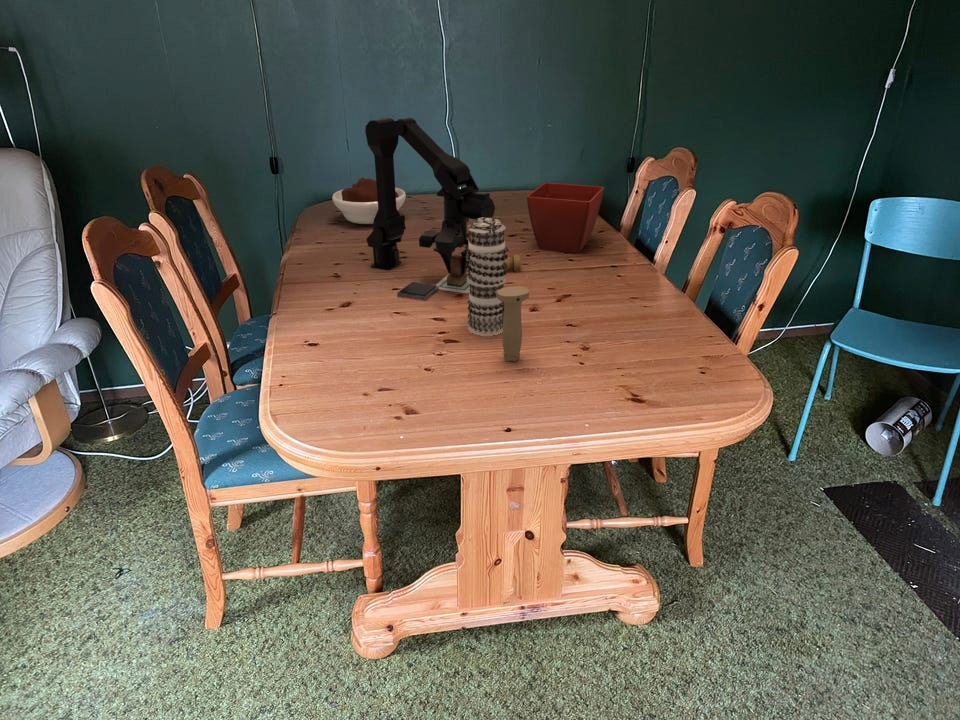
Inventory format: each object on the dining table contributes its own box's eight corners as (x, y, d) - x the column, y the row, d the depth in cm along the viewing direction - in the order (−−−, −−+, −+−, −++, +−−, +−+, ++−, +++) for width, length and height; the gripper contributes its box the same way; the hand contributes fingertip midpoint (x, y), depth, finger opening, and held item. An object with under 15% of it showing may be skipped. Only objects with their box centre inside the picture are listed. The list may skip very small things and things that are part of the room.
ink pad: (397, 296, 163) (397, 291, 162) (411, 285, 170) (411, 281, 169) (426, 300, 160) (425, 295, 160) (439, 289, 167) (438, 284, 166)
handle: (492, 356, 134) (493, 289, 127) (520, 351, 136) (522, 284, 129) (502, 366, 130) (503, 298, 123) (530, 361, 132) (533, 293, 125)
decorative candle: (493, 340, 140) (494, 229, 129) (458, 331, 145) (456, 222, 133) (514, 325, 147) (516, 218, 135) (480, 317, 151) (479, 212, 140)
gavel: (482, 240, 195) (515, 239, 195) (482, 254, 197) (514, 254, 197) (484, 258, 176) (521, 257, 176) (484, 274, 178) (520, 273, 178)
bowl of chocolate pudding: (319, 223, 222) (314, 179, 215) (370, 208, 240) (366, 167, 233) (372, 235, 209) (368, 189, 202) (421, 218, 227) (419, 175, 220)
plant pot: (523, 251, 194) (525, 195, 187) (542, 233, 210) (544, 181, 202) (585, 258, 188) (590, 201, 180) (600, 240, 204) (604, 186, 196)
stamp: (447, 285, 169) (446, 258, 166) (452, 280, 172) (452, 253, 169) (461, 287, 168) (460, 260, 164) (466, 282, 171) (466, 255, 168)
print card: (432, 288, 168) (432, 287, 168) (447, 275, 176) (447, 274, 176) (467, 293, 165) (467, 292, 164) (481, 280, 173) (481, 279, 173)
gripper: (407, 220, 158) (411, 279, 165) (478, 227, 152) (478, 289, 159) (427, 208, 167) (429, 265, 174) (494, 215, 161) (494, 274, 168)
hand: (456, 273), depth 169 cm, fingers open, 4 cm apart
